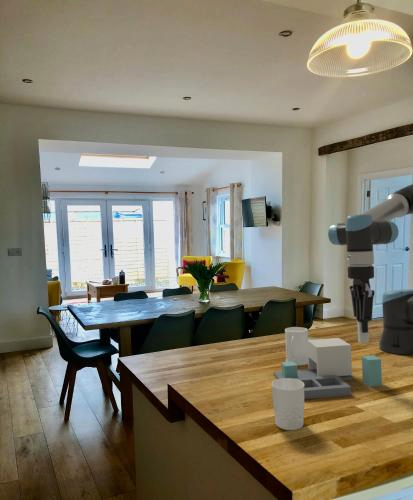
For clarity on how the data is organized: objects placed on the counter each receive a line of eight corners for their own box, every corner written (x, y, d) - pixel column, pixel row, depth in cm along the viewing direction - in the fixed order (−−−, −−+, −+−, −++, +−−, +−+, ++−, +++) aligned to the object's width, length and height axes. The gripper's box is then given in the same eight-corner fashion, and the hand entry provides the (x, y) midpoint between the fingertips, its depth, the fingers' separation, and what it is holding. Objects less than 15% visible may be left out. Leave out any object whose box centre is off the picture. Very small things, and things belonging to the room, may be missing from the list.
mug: (302, 369, 134) (301, 335, 134) (279, 366, 139) (277, 333, 139) (312, 360, 144) (311, 327, 144) (290, 357, 149) (289, 326, 149)
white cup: (269, 418, 100) (268, 379, 99) (299, 415, 100) (298, 376, 100) (278, 433, 92) (276, 391, 92) (310, 430, 92) (309, 388, 92)
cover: (339, 366, 132) (338, 337, 132) (352, 375, 123) (350, 344, 123) (308, 368, 131) (307, 340, 131) (318, 377, 122) (316, 347, 122)
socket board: (336, 382, 121) (336, 374, 121) (351, 395, 111) (350, 386, 111) (286, 386, 120) (285, 378, 120) (296, 399, 110) (296, 391, 110)
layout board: (339, 369, 133) (339, 355, 133) (353, 380, 123) (352, 364, 123) (273, 374, 131) (272, 360, 131) (281, 385, 121) (281, 369, 121)
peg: (375, 380, 121) (374, 355, 121) (382, 385, 117) (381, 359, 117) (362, 381, 121) (361, 356, 121) (369, 386, 117) (368, 360, 117)
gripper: (340, 264, 126) (343, 337, 126) (356, 267, 113) (360, 348, 113) (363, 263, 126) (366, 336, 126) (382, 266, 113) (385, 347, 113)
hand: (363, 342), depth 120 cm, fingers closed
